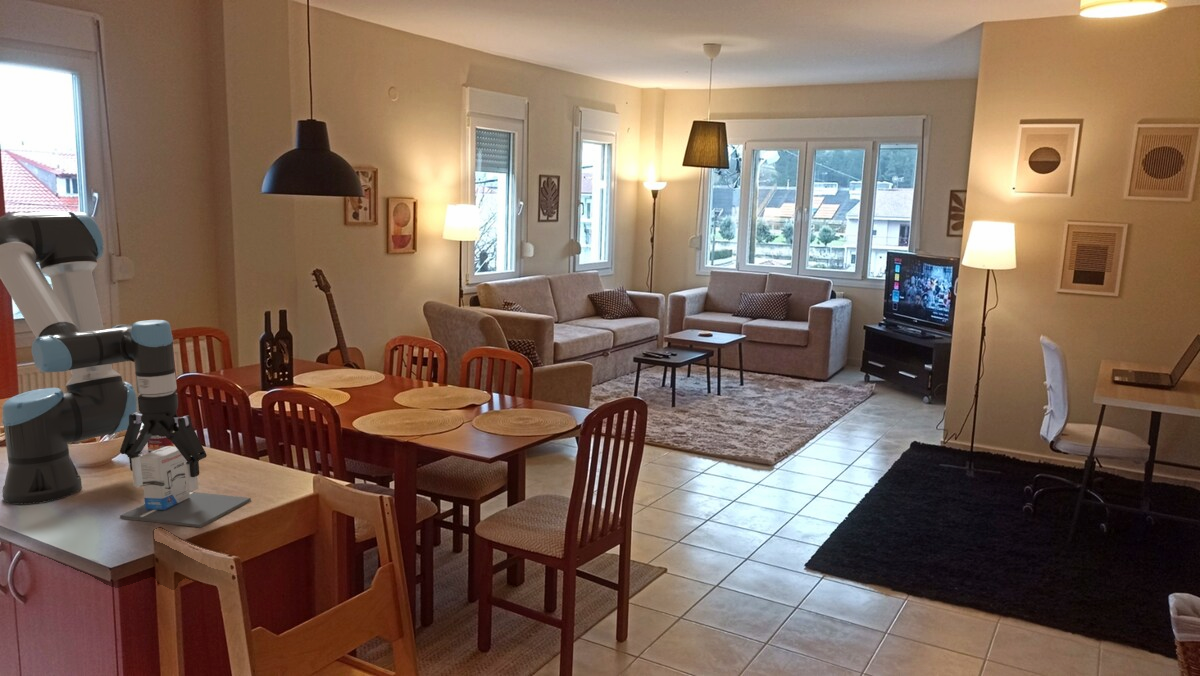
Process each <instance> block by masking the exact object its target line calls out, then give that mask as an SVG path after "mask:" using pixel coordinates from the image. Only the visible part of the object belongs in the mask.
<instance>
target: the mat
mask: <svg viewBox="0 0 1200 676" xmlns="http://www.w3.org/2000/svg"><path fill="white" fill-rule="evenodd" d="M251 500H252V499H251V497H245V496H244V497H243V496H237V495H236V496H234V495H225V494H216V493H209V492H208V493H205V492H198V491H193V492H190V498H188V499H186V500H184V501H182V502H180V503H178V504H176V505H174V506H172V507H170V508H168V509H166V510H156V509H146V508H145V503H143V504H141V505H140V506H138V507H136V508H133V509H131V510H129V511H126V512H125V513H121V514H120V515H119V519H124V520H134V521H141V522H142V521H143V522H149V523H160V524H167V525H175V526H183V527H192V528H202V527H204V526H206V525H207V524H210V523H211V522H213V521H215V520H217V519H219V518H221V517H222V516H224V515H227V514H228V513H230V512H232V511H234V510H236V509H237V508H240V507H242V506H244V505H245V504H247V503H248V502H251Z"/></svg>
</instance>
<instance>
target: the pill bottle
mask: <svg viewBox="0 0 1200 676" xmlns="http://www.w3.org/2000/svg"><path fill="white" fill-rule="evenodd" d="M173 432H174V431H173ZM173 432H172V433H173ZM166 446H173V447H175V445H174V444H173V443H172V441H171V440H169V439H167V438H166V436H164V437H161V436H158V435H157V436H151V438H150V439H149V441H148V442H147V450H148V451H149V452H153V451H155V450H158V449H160V448H163V447H166Z"/></svg>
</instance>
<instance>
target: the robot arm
mask: <svg viewBox="0 0 1200 676" xmlns="http://www.w3.org/2000/svg"><path fill="white" fill-rule="evenodd" d="M104 245H105V244H104V238H103V235H102V232H101V230H100V227H99V225H98V224H97V222H96V220H95V219H94V218H93V217H91V215H90V214H88V213H86V212H84V211H69V210H63V211H60V210H59V211H58V210H57V211H56V210H55V211H31V212H29V211H27V212H25V211H15V212H11V213H7V214H4V215H2V216H0V280H1V282H2V284H3V286H4V287H5V289H6V291H7V293H8V294H9V295H10V297H11V299H12V300H13V302H14V304H15V306H16V307H17V308H18V310H19V312H20V313H21V315H22V317H23V318H24V320H25V322H26V324H27V325H28V327H29V329H30V330H31V332H32V333H33V335H34V336H35V338H34V340H32V343H31V355H32V359H33V362H34V366H35V367H36V368H37V370H39V371H40V372H42V373H56V372H67V371H70V376H71V377H70V379H69V380H68V381H67V382H66V383H65V387H66V392H63V391H62V389H61V388H58V387H45V388H37V389H33V390H29V391H25V392H22V393H19V394H16V395H14V396H12V397H10V398H9V399H7V400H5V401H4V403H3V404H2V409H1V410H2V420H1V423H2V425H3V430H4V438H5V445H6V446H5V448H6V454H7V461H8V464H7V465H8V467H7V472H6V476H5V480H4V485H3V487H2V490H1V491H2V500H3V501H4V502H5V503H8V504H13V505H31V504H40V503H47V502H52V501H57V500H60V499H62V498H67V497H70V496H71V495H74V494H77V492H79V491H80V490H81V489H82V488H83V485H82V478H81V477H82V476H81V475H80V474H79V472H78V470H77V468H76V465H75V464H74V462H73V460H72V458H71V456H70V450H69V444H70V443H73V442H80V441H84V440H90V439H94V438H99V437H103V436H112V435H114V434H116V433H121V432H124V431H125V435H124V438H123V441H122V444H121V446H120V450H119V452H120V455H125V456H127V457H128V459H129V467H130V468H129V469H130V471H131V472H132V478H133V479H132V480H133V488H139V487H141V486H143V482H142V473H141V464H140V457H142V455H143V454H142V452H143V451H144V448H145V447H146V445H148V443H147V442H148V441H149V439H150V438H151V436H157V435H158V436H161V437H164V436H166V438H167V439H169V440H171V441H172V443H173V444H174V447H176V448H177V449H178V450H179V452H180V453H181V454H182V455H183V457H184V458H185V459H186V463H184V469H185V480H186V491H187V493H190V492H196V491H197V490H198V489H199V479H198V477H199V475H200V462H199V461H201V460H204V459H205V458H207V453H206V451H205V448H204V446H203V445H202V443H201V440H200V438H199V437H198V435H197V433H196V431H195V429H194V427H193V424H192V423H193V422H192V419H191V418H192V417H191V416H190V415H189V414H188V415H184V416H178V414H177V411H178V408H179V398H178V392H177V391H176V390H177V388H178V387H177V386H178V385H177V377H176V369H175V368H176V367H175V355H174V337H173V336H174V335H173V334H172V328H171V324H170V322H169V321H167V320H165V319H149V320H148V319H147V320H139V321H135V322H133V323H132V324H128V323H127V324H116V325H114V326H113V327H110V328H104V327H105V326H104V322H103V318H102V314H101V309H100V303H99V300H98V295H97V290H96V286H95V280H94V275H93V271H94V270H95V269H96V267H97V266H98V260H99V259H101V257H102V256H103V254H104V247H103V246H104ZM38 263H39V265H38ZM46 276H48V277H49V279H50V282H51V284H50V283H49V281H48V279H47V278H46ZM126 362H133V363H134V371H135V373H134V374H135V382H136V390H135V389H134V387H133V385H132V384H131V383H129V382H127V381H123V378H122V374H120V373H119V372H118V371H116V370H115V369H113V365H112V364H118V363H126ZM136 391H137V393H138V394H139V395H138V396H137V394H136ZM142 424H143V427H142ZM141 427H142V429H141ZM172 432H173V433H172Z"/></svg>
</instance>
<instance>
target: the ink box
mask: <svg viewBox="0 0 1200 676" xmlns="http://www.w3.org/2000/svg"><path fill="white" fill-rule="evenodd" d="M141 455H142V457H140V464H141V473H142V482H143V485H142V490H143V497H144V498H143V500H144V504H145V508H146V509H156V510H166V509H168V508H170V507H172V506H174V505H176V504H178V503H180V502H182V501H184V500H186V499H188V498H190V493H187V491H186V480H185V469H184V463H186V462H187V461H186V459H185V458H184V457H183V455H182V454H181V453H180V452H179V450H178V449H177V448H176V446H174V447H173V446H166V447H163V448H160V449H158V450H155V451H153V452H151V451H149V452H147V453H145V454H141Z"/></svg>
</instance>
